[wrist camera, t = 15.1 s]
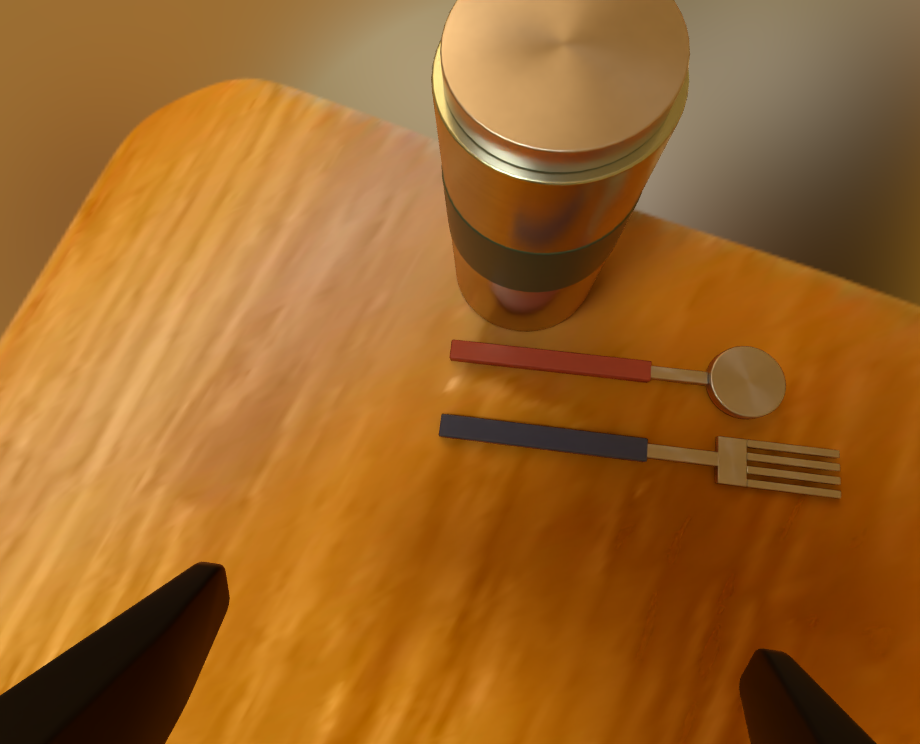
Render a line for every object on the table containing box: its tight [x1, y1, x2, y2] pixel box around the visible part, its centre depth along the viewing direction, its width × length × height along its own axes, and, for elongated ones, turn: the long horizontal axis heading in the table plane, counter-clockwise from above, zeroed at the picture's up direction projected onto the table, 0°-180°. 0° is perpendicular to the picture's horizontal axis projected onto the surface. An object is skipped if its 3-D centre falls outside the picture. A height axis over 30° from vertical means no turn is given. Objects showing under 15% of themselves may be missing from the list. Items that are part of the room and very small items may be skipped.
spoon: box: [450, 340, 786, 419], centre depth 22 cm, size 15×3×1 cm, turn 83°
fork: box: [439, 414, 841, 499], centre depth 22 cm, size 17×2×1 cm, turn 83°
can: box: [431, 0, 690, 331], centre depth 18 cm, size 7×7×12 cm
